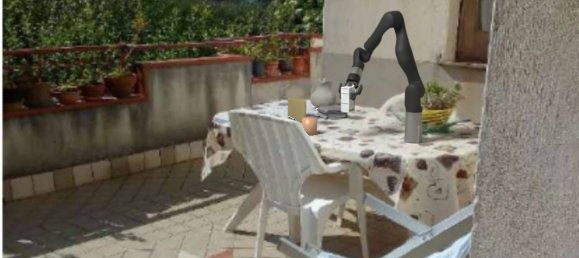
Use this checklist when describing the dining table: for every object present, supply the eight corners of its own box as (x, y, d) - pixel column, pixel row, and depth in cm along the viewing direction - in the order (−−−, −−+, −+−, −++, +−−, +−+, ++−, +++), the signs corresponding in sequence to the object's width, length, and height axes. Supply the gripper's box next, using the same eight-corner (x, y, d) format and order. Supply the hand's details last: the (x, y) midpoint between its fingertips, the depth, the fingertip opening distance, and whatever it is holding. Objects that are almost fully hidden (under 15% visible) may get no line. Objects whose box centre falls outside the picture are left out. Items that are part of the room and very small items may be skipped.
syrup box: (348, 112, 327) (349, 87, 324) (340, 111, 331) (340, 86, 328) (354, 111, 332) (355, 86, 329) (346, 110, 335) (346, 85, 332)
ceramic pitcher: (308, 108, 441) (306, 76, 436) (333, 106, 443) (332, 74, 438) (313, 113, 420) (310, 79, 415) (339, 111, 422) (337, 77, 417)
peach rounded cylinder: (319, 133, 347) (319, 117, 345) (313, 136, 339) (313, 119, 337) (305, 132, 351) (306, 116, 349) (299, 134, 343) (299, 118, 341)
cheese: (312, 123, 379) (312, 100, 376) (298, 124, 376) (298, 101, 373) (300, 117, 400) (300, 96, 397) (287, 118, 397) (287, 96, 394)
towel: (315, 116, 403) (316, 105, 402) (338, 115, 410) (339, 104, 409) (325, 120, 390) (326, 109, 388) (349, 118, 397) (349, 107, 395)
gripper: (341, 71, 337) (333, 94, 329) (364, 73, 330) (357, 96, 322) (344, 79, 342) (336, 102, 335) (367, 81, 336) (360, 104, 328)
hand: (346, 99), depth 329 cm, fingers closed on syrup box, 7 cm apart
